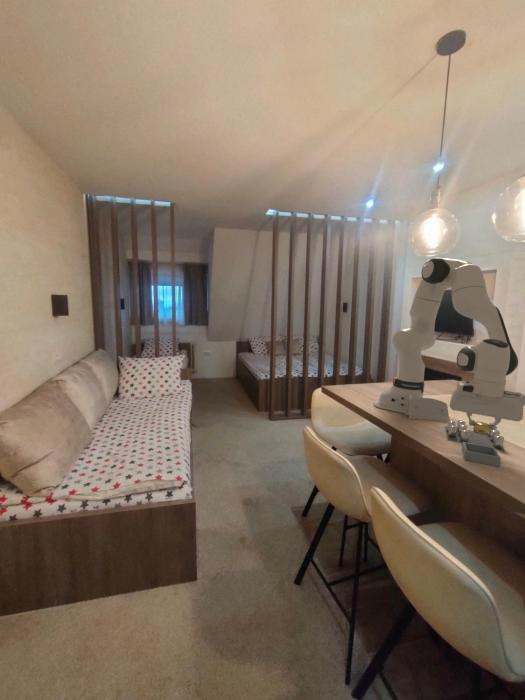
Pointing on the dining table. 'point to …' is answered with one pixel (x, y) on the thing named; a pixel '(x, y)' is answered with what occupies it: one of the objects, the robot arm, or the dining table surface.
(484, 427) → the knob
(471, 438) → the mat
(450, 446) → the dining table surface
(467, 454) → the tray
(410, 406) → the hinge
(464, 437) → the spacers
